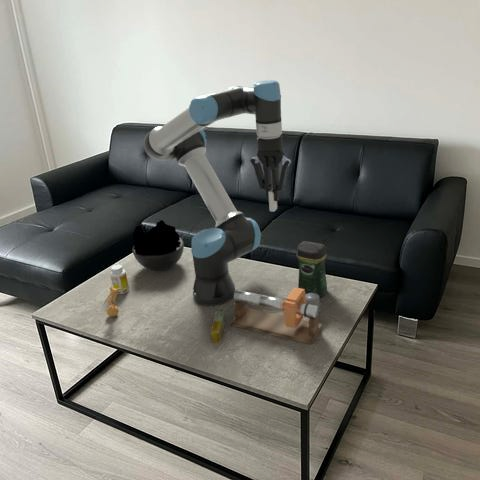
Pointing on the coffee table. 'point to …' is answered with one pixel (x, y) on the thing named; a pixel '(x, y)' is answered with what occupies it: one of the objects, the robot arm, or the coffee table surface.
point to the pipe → (274, 303)
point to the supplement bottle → (119, 279)
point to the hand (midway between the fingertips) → (273, 209)
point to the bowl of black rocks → (158, 247)
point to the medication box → (218, 326)
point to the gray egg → (312, 299)
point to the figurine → (112, 309)
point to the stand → (275, 324)
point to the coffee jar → (312, 267)
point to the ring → (293, 307)
